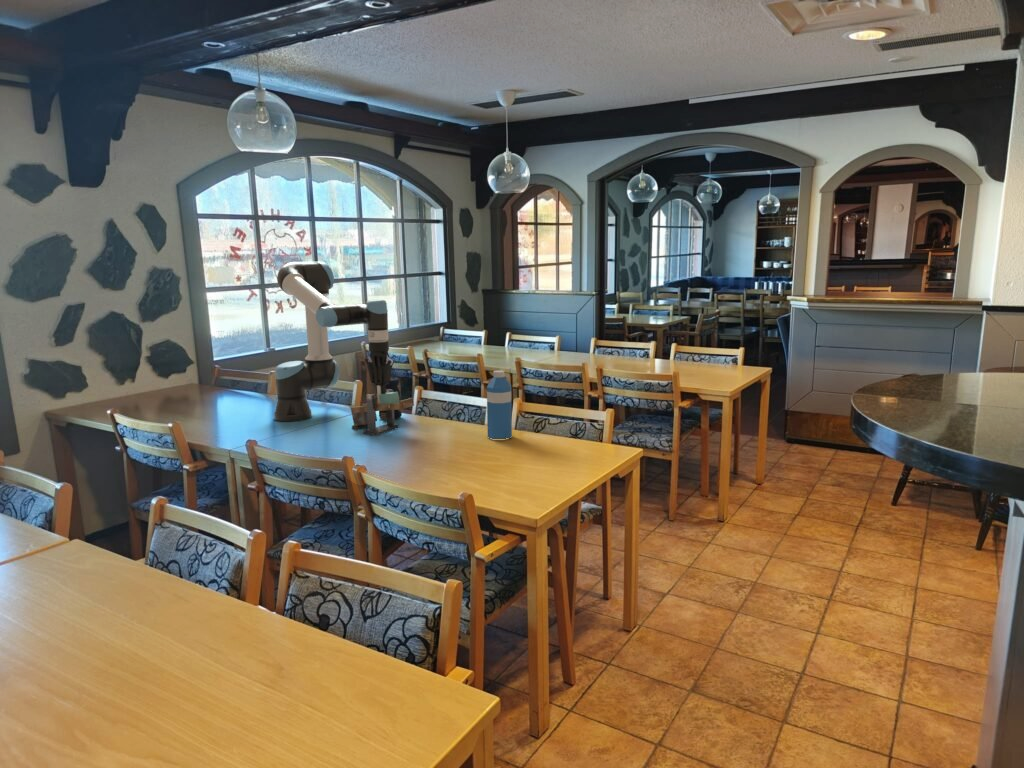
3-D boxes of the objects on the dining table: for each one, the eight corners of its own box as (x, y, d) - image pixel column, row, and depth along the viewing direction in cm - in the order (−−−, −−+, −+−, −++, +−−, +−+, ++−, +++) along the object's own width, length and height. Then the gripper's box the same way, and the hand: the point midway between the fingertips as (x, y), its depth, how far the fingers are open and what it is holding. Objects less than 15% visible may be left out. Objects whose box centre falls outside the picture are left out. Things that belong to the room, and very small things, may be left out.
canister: (399, 421, 279) (397, 378, 276) (376, 421, 279) (374, 378, 276) (403, 415, 289) (402, 374, 285) (381, 415, 289) (379, 374, 285)
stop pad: (352, 428, 268) (351, 425, 268) (364, 424, 274) (364, 422, 274) (357, 429, 266) (357, 426, 266) (369, 425, 272) (369, 422, 272)
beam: (352, 425, 266) (346, 396, 265) (367, 421, 274) (362, 392, 273) (402, 422, 253) (397, 392, 251) (417, 417, 260) (412, 388, 259)
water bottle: (482, 438, 251) (481, 372, 246) (494, 433, 259) (493, 368, 254) (504, 441, 247) (504, 374, 242) (516, 435, 255) (516, 370, 250)
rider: (381, 407, 260) (379, 394, 260) (388, 405, 263) (386, 392, 263) (393, 406, 257) (390, 393, 256) (400, 404, 260) (397, 391, 260)
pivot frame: (363, 433, 260) (361, 394, 257) (387, 425, 272) (385, 388, 269) (375, 435, 257) (373, 396, 254) (399, 427, 269) (397, 389, 266)
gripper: (358, 341, 258) (362, 401, 262) (385, 343, 251) (388, 405, 256) (372, 338, 264) (375, 398, 269) (398, 340, 258) (400, 401, 262)
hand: (381, 401), depth 262 cm, fingers closed
